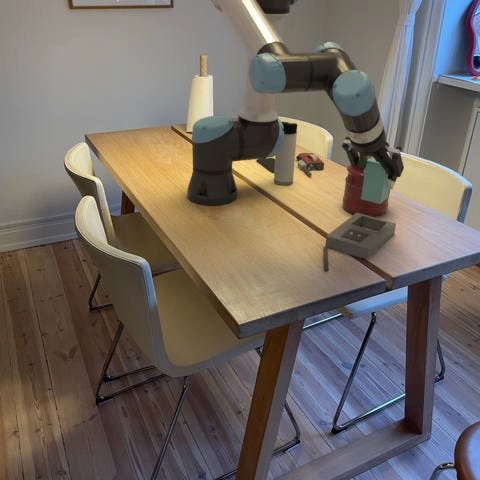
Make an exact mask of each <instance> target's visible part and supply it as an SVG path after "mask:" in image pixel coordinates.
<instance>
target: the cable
mask: <svg viewBox="0 0 480 480" xmlns="http://www.w3.org/2000/svg"><path fill="white" fill-rule="evenodd" d="M322 249H323V253H322V254H323V270H324V272H327V271H329V253H328V252H329V250H328V249H329V248H328V247H327V246H325V245H324V246H323V248H322Z"/></svg>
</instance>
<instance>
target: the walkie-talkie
mask: <svg viewBox="0 0 480 480" xmlns="http://www.w3.org/2000/svg"><path fill="white" fill-rule="evenodd" d="M295 159H296V160H297V167H298V168H299V170H300V171H304V172H305V174H308V175H309V176H310V177H312V176H313V175H312V173H311V172H310V171H321V170H322V171H323V170H324V168H325V162H324V161H322V160H321V158H319V156H317V155H316V154H315V153H313V152H301V153H299V154H298V155H297V156H296V155H295Z"/></svg>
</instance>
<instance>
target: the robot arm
mask: <svg viewBox="0 0 480 480" xmlns="http://www.w3.org/2000/svg"><path fill="white" fill-rule="evenodd" d="M298 1H299V0H211V2H212V4H213V6H214V7H215V9H216V10H218V11H219V12H221V13H223V14H224V17H226V19H227V21H228V23H229V25H230V26H231V28H232V29H233V31H234V33H235V34H236V36H237V38H238V41H240V43H241V45H242V47H243V48H244V51H245V52H246V54H247V59H246V61H247V62H246V73H245V74H246V75H245V87H244V90H245V91H244V104H243V107H242V108H241V109H240V110H239V111H238V114H237V115H238V116H237V117H238V118H237V120H234V119H233V117H231V116H230V115H225V114H224V115H222V114H221V115H218V114H217V115H209V116H206V117H202V118H200V119H198V120H197V121H195V122H194V124H193V126H192V131H191V142H192V143H191V145H192V146H191V148H192V150H191V151H192V174H191V177H190V179H189V183H188V185H187V191H186V193H187V199H188V200H189V201H191V202H193V203H196V204H198V205H199V204H200V205H204V206H221V205H226V204H230V203H232V202H234V201H236V200H237V198H238V186H237V184H236V180H235V177H234V174H233V162H239V161H240V162H242V161H251V160H252V161H253V160H257V159H265V158H275V155H276V154H278V153H279V151H280V150H281V147H282V145H283V141H284V131H283V129H284V127H283V124H282V122H283V121H281V120H280V119H279V115H278V112H276V111H275V100H276V95H278V94H287V93H288V94H291V93H307V92H325V93H326V95H327V96H328V97H329V99H330V100H331V102H332V103H333V105H334V106H335V108H336V109H337V112H338V113H339V116H340V117H341V120H342V122H343V126H344V128H345V131H346V134H347V135H348V136H345V138H344V140H343V142H342V145H341V148H342V149H343V150H344V151H345V152H346V155H347V158H348V161H349V165H350V164H351V166H352V167H356V166H357V167H359V169H360V170H361V172H362V174H363V175H365V169H366V162H367V160H368V159H367V158H368V156H371V157H373V158H374V159H375V160H376V162H379V163H380V164H381V166H382V167H383V168H384V170H385V171H386V173H387V175H386V179H387V182H388V186H389V189H390V190H393V189H394V186H395V184H396V182H397V180H398V178H401V176H402V174H403V171H404V169H405V166H404V165H405V164H404V162H403V157H402V154H401V151H402V150H403V149H402V147H401V146H398V145H397V146H396V147H392V146H390V144H389V143H388V142H387V135H386V130H385V127H384V124H383V119H382V116H381V113H380V112H381V111H380V108H379V105H378V100H377V97H376V89H375V86H374V84H373V83H372V80H371V78H370V76H369V75H368V74H367V73H366V72H364V71H361V70H358V68H357V66H356V65H355V64H354V62H353V61H352V60H351V58H350V56H349V54H348V53H347V52H346V51H345V50H344V49H343V48H342V46H340V45H339V44H338V43H336V42H332V41H327V42H324V43H322V44H321V45H318V46H316V47H315V48H314V49H313V50H312V51H311V52H291V51H290V50H289V48H288V47H287V45H286V44H285V42H284V41H283V39H282V32H283V31H282V30H283V22H284V19H285V18H286V17H288V15H290V10H291V9H290V8H291V6H293V5H296V4H297V3H298ZM359 154H360V155H359ZM359 159H360V160H359Z"/></svg>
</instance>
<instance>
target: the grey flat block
mask: <svg viewBox="0 0 480 480" xmlns="http://www.w3.org/2000/svg"><path fill="white" fill-rule="evenodd" d="M396 225H397V223H396V222H393V221H389V220H386V219H385V220H384V219H382V218H377V217H376V216H367V215H364V214H360V213H355V214H353V215H351V216H350V217H349V218H347V219H346V220H345V221H344V222H342V223H341V224H340V225H339V226H337V227H336V228H335V229H333V230H332V231H331V232H329V233H328V234H327V235H326V238H325V245H324V246H327V248H328V249H332V250H334V251H338V252H340V253H344V254H345V255H346V254H347V255H351V256H353V257H355V258H360V259H362V258H365V259H368V258H369V257H370V256H371V255H372V254H373V253H374V252H375V251H376V250H377V249H378V248H379V247H380V248H381V247H382V246H383V245H384V244H385V243H387V241H388V240H389V239H390V238H391V237H392V236H394V234H395V231H396ZM359 226H360V227H359ZM377 230H378V231H377ZM382 244H383V245H382ZM381 245H382V246H381ZM380 248H379V249H380ZM379 249H378V250H379ZM378 250H377V251H378ZM377 251H376V252H377ZM376 252H375V253H376ZM375 253H374V254H375ZM374 254H373V255H374ZM373 255H372V256H373ZM372 256H371V257H372ZM371 257H370V258H371ZM370 258H369V259H370ZM365 259H364V260H365ZM369 259H368V260H369Z"/></svg>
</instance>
